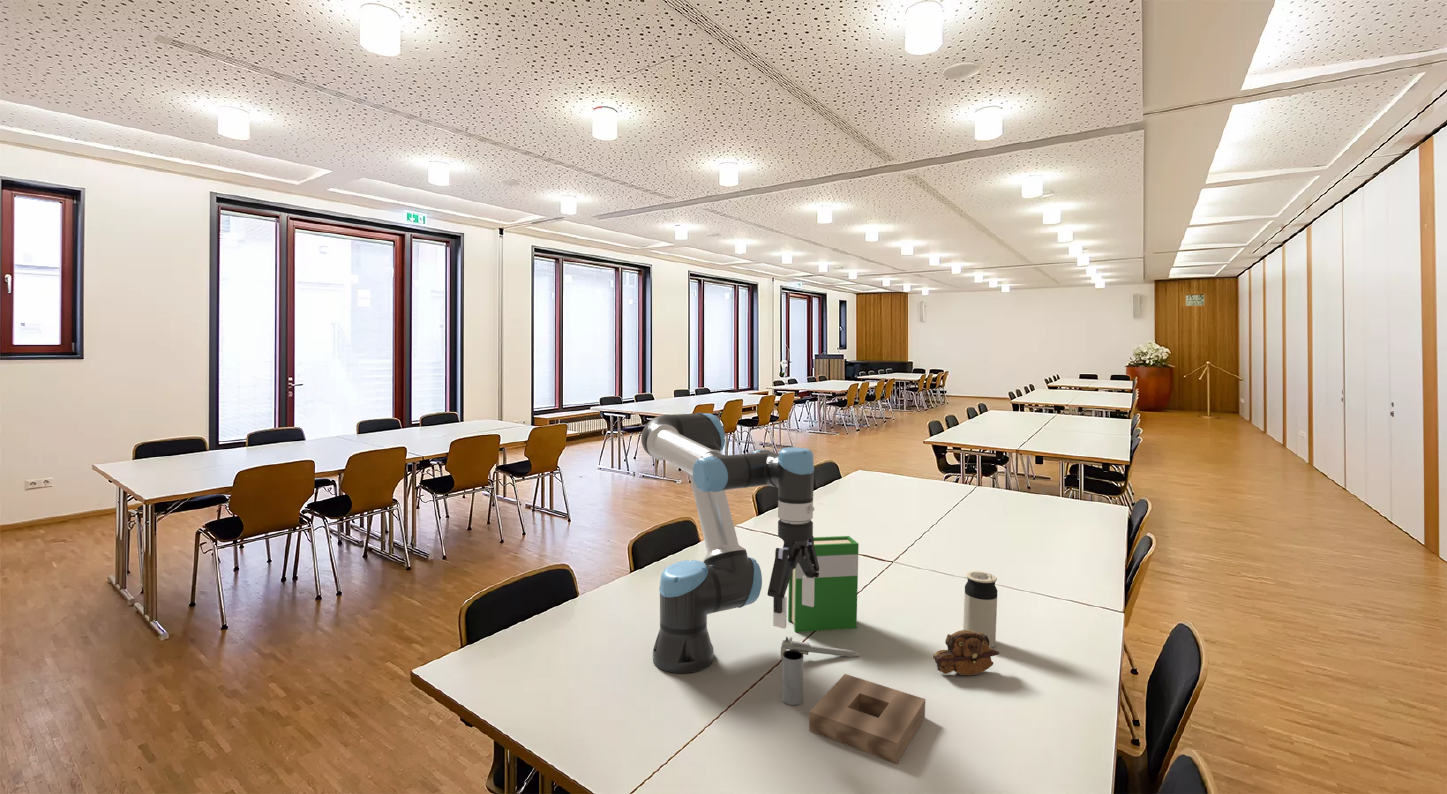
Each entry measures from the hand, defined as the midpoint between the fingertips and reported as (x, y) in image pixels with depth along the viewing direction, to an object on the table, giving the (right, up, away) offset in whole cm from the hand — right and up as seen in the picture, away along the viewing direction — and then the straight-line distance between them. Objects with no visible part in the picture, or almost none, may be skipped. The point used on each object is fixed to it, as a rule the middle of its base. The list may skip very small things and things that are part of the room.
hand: (794, 615), depth 135 cm
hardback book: (+12, -17, +39) cm, 44 cm away
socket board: (+14, -20, -8) cm, 25 cm away
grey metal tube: (0, -19, +1) cm, 19 cm away
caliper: (+9, -18, +20) cm, 28 cm away
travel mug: (+52, -18, +29) cm, 63 cm away
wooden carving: (+43, -19, +13) cm, 48 cm away
